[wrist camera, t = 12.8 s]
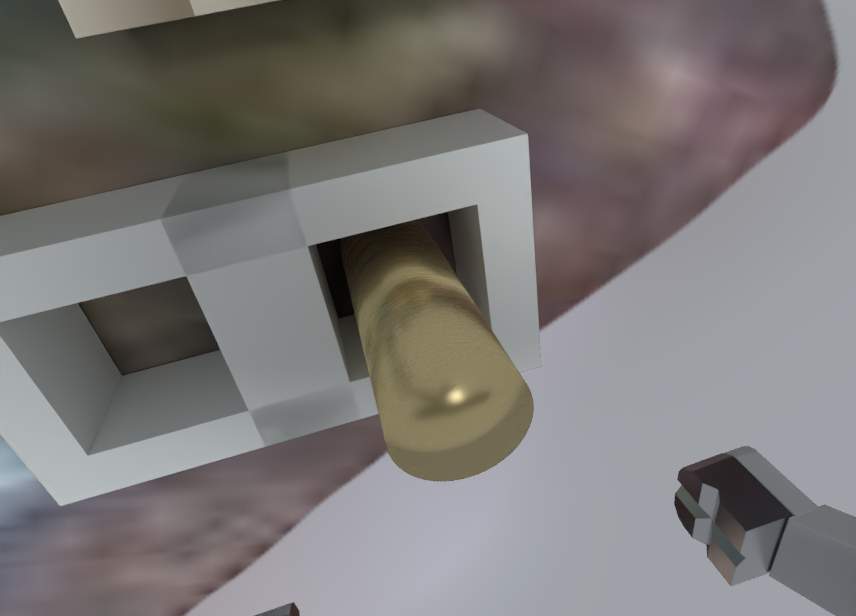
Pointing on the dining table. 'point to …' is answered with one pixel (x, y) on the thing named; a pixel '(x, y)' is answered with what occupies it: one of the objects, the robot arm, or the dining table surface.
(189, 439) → the rack
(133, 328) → the dining table surface
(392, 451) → the brass peg
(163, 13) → the socket block
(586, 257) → the dining table surface
